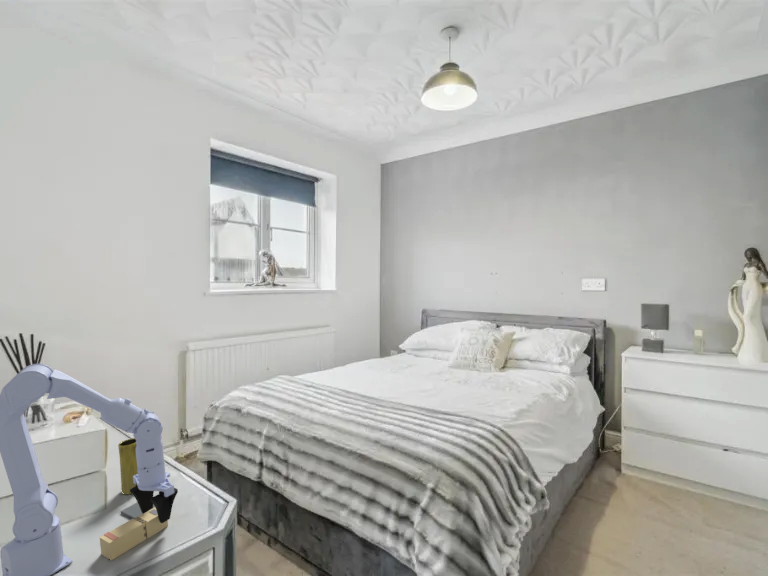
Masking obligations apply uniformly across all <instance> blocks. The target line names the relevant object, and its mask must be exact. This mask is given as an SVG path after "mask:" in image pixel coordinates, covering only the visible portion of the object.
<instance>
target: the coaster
mask: <svg viewBox="0 0 768 576" xmlns="http://www.w3.org/2000/svg"><path fill="white" fill-rule="evenodd" d="M154 507H155V506H154V504H153V508H154ZM120 513H121V514H122V515H124V516H126V517H128V518H130V520H132V519H133V518H136V517H138V516H140V515H142V512H141V509H140V507H139V504H138V502H137V501H136V502H135V503H133V504H132V505H129V506H128V507H126V508H124V509H121V511H120Z"/></svg>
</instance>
